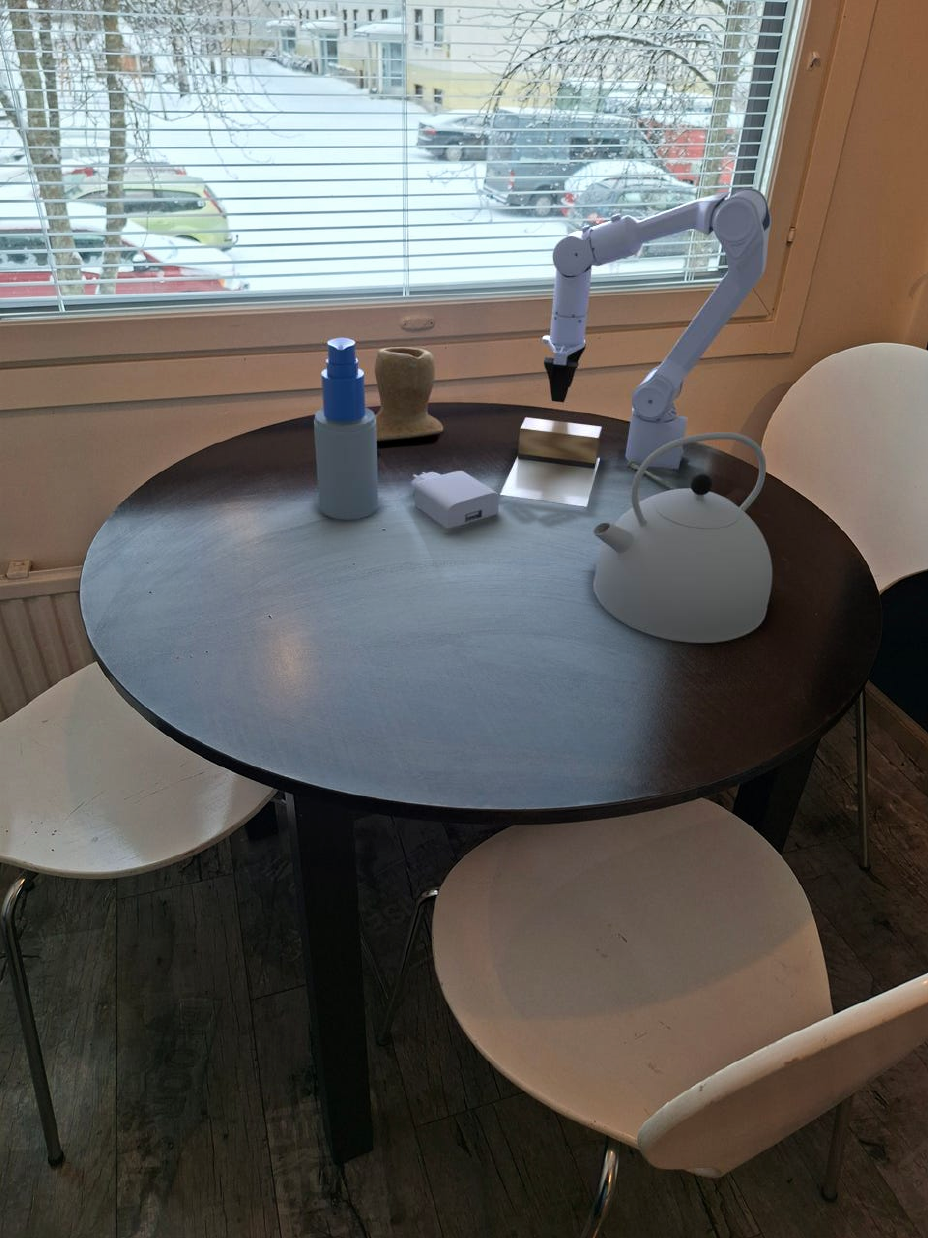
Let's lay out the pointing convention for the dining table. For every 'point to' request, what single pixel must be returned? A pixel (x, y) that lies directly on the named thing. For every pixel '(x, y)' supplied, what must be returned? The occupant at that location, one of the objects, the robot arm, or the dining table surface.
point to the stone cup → (404, 393)
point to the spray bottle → (345, 438)
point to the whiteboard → (550, 482)
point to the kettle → (686, 560)
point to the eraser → (559, 442)
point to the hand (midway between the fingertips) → (561, 393)
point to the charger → (454, 498)
